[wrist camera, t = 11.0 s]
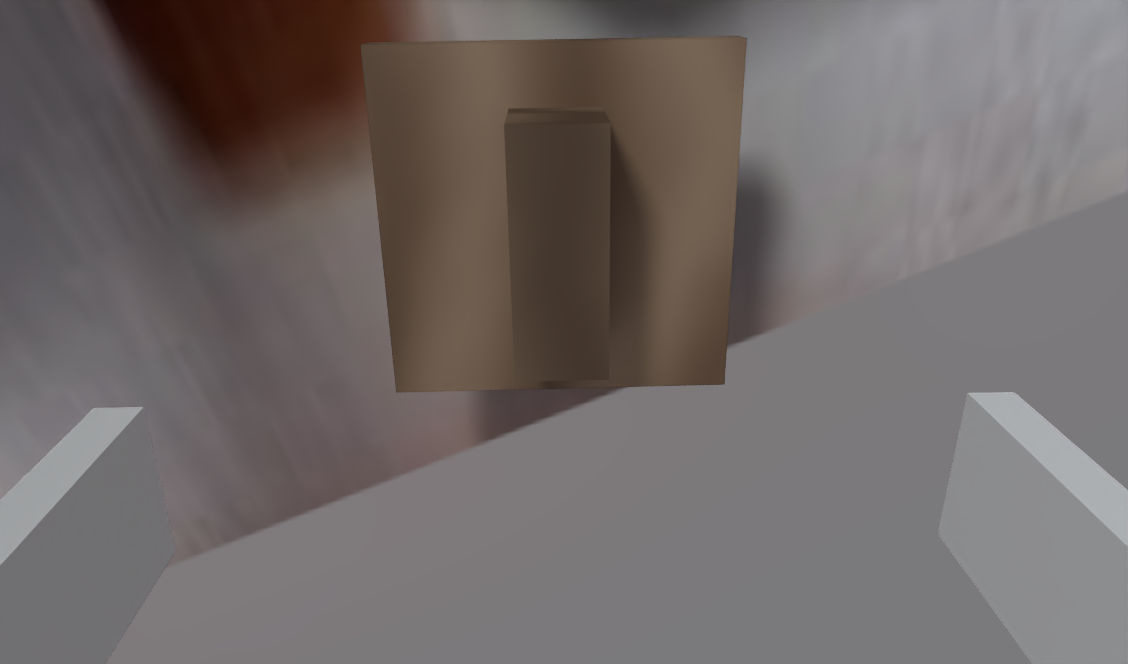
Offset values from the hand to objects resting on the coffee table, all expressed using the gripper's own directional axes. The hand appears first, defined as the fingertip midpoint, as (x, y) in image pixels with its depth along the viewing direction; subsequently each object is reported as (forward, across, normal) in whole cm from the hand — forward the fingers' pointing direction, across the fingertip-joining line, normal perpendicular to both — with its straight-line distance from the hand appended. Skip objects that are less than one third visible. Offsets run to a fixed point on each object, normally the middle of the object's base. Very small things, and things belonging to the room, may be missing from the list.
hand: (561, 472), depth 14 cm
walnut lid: (+17, 0, 0) cm, 17 cm away
